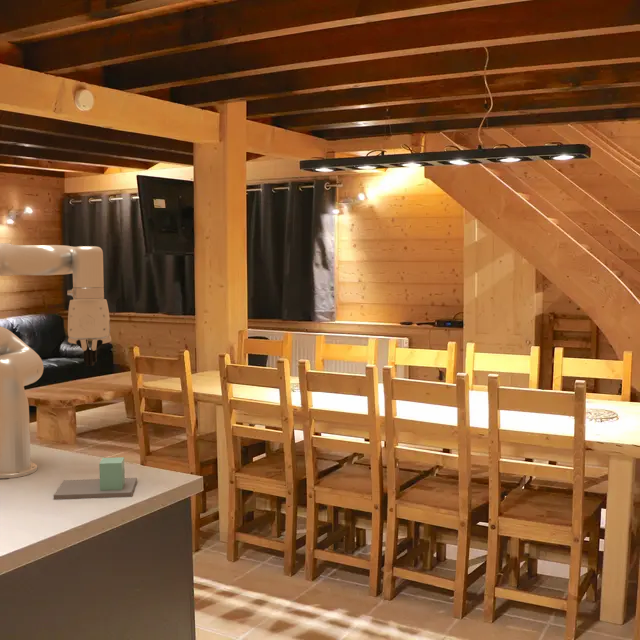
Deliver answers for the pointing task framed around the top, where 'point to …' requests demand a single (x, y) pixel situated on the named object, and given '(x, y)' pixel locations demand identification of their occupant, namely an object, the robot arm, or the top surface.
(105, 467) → the sage green cube
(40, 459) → the top surface
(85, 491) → the stand board
